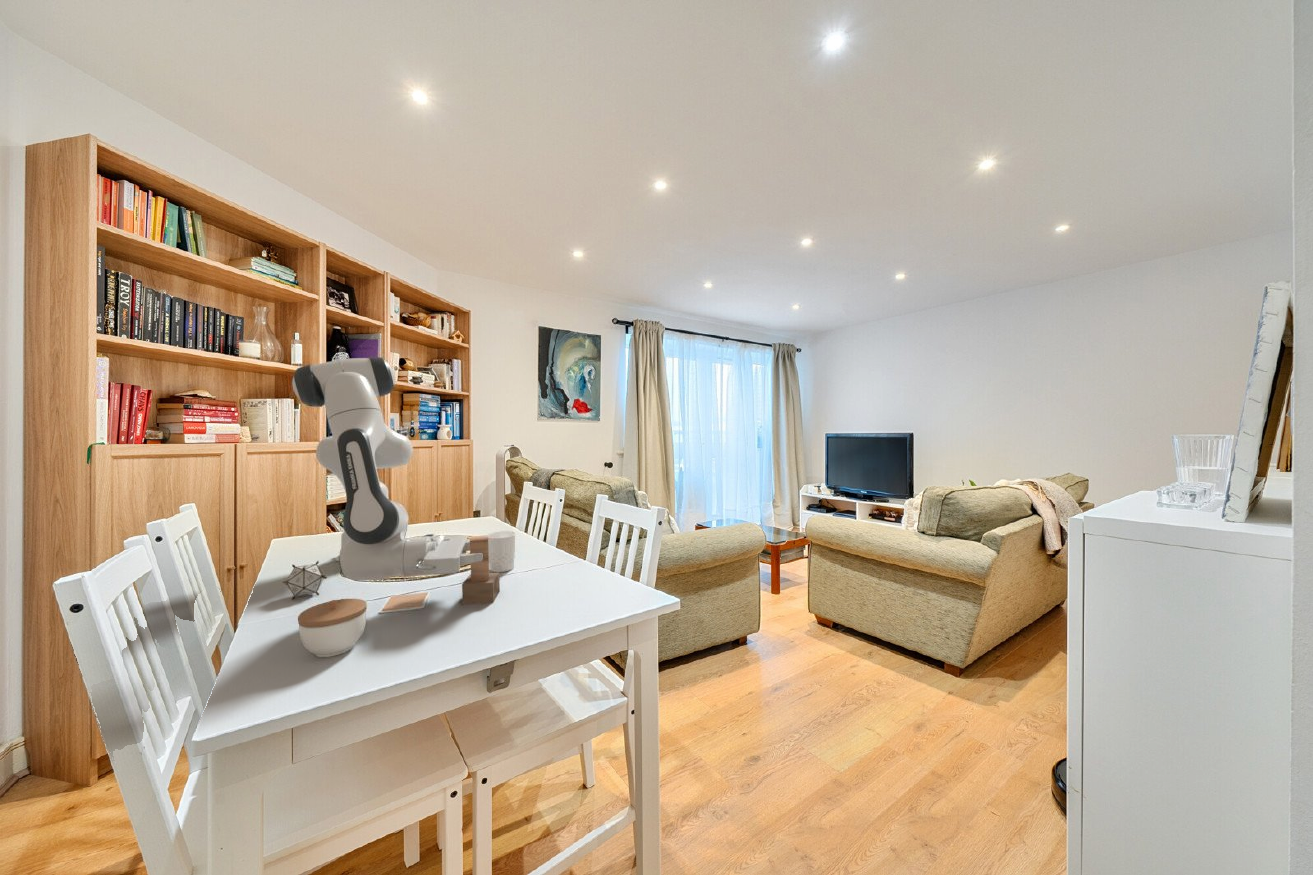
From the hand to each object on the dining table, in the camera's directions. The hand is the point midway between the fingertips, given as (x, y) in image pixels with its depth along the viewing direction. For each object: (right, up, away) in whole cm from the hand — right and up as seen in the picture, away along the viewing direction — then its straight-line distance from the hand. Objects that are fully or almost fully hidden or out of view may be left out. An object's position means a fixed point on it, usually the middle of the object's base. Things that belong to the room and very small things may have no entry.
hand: (484, 550), depth 112 cm
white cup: (-3, -11, +22) cm, 24 cm away
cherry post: (-1, -7, 0) cm, 7 cm away
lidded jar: (-19, -13, -24) cm, 34 cm away
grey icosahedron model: (-45, -12, +3) cm, 47 cm away
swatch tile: (-18, -12, -3) cm, 21 cm away
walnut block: (-1, -12, 0) cm, 12 cm away
